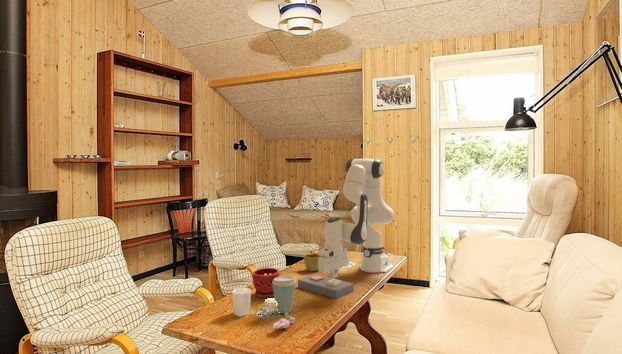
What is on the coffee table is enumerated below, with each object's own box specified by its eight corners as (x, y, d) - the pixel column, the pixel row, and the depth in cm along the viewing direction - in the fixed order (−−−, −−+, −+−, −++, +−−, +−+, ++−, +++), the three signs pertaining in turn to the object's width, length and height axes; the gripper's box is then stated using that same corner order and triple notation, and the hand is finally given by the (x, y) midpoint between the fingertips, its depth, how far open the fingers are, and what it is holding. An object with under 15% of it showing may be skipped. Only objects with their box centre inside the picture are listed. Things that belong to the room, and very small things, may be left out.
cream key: (333, 284, 193) (333, 278, 193) (341, 286, 190) (341, 280, 190) (327, 286, 190) (327, 281, 190) (334, 289, 186) (334, 283, 186)
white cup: (235, 309, 167) (234, 287, 167) (252, 309, 167) (252, 287, 167) (230, 317, 159) (230, 293, 159) (249, 317, 159) (248, 293, 159)
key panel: (315, 280, 208) (315, 273, 208) (353, 291, 190) (353, 283, 190) (297, 286, 198) (297, 279, 198) (335, 298, 180) (335, 290, 180)
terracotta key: (316, 281, 202) (316, 275, 201) (323, 283, 198) (323, 277, 198) (309, 283, 198) (309, 277, 198) (316, 285, 194) (316, 279, 194)
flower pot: (323, 270, 227) (323, 256, 227) (311, 273, 222) (311, 258, 222) (315, 267, 234) (314, 253, 234) (303, 269, 230) (303, 255, 229)
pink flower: (286, 322, 156) (267, 331, 143) (287, 308, 157) (268, 315, 144) (299, 325, 154) (281, 334, 140) (300, 310, 154) (283, 318, 141)
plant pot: (265, 288, 195) (265, 266, 195) (284, 293, 188) (284, 270, 187) (247, 296, 184) (246, 272, 184) (267, 301, 177) (266, 276, 176)
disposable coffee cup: (267, 310, 166) (267, 277, 166) (287, 304, 173) (287, 272, 172) (280, 318, 158) (280, 282, 157) (301, 312, 164) (301, 278, 164)
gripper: (341, 245, 199) (342, 271, 199) (315, 252, 184) (315, 280, 184) (351, 247, 194) (351, 274, 195) (325, 254, 179) (325, 283, 180)
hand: (334, 277), depth 189 cm, fingers closed
